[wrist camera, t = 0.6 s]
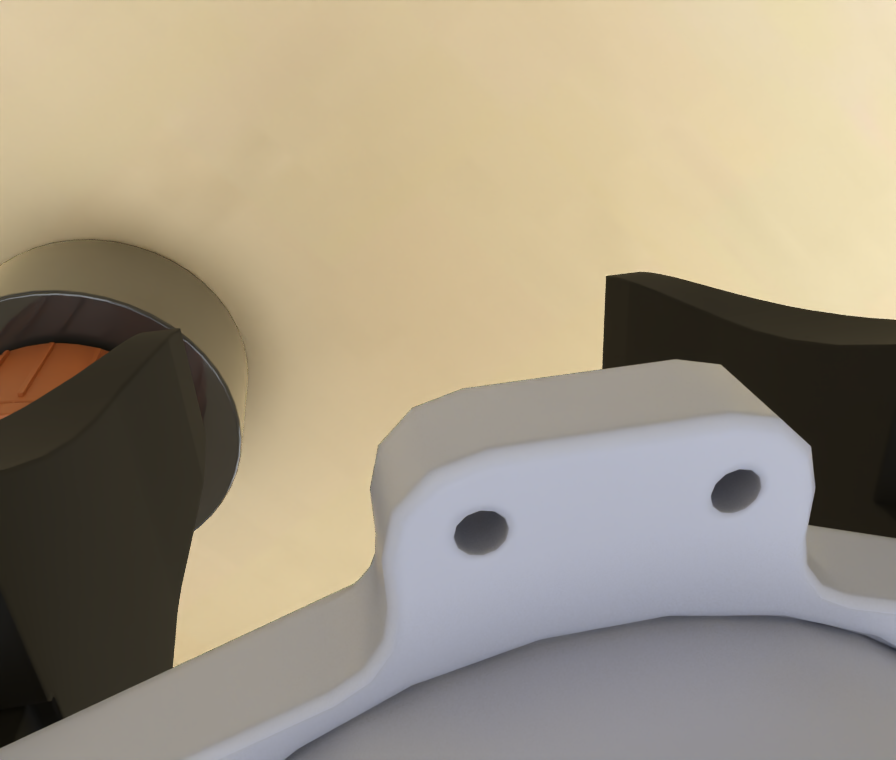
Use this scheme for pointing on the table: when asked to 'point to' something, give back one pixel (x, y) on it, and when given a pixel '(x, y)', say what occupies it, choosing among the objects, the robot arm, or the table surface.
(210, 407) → the grey round holder
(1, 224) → the table surface
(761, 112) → the table surface
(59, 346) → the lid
